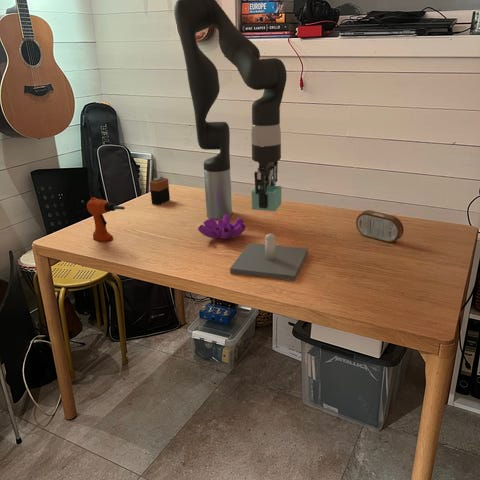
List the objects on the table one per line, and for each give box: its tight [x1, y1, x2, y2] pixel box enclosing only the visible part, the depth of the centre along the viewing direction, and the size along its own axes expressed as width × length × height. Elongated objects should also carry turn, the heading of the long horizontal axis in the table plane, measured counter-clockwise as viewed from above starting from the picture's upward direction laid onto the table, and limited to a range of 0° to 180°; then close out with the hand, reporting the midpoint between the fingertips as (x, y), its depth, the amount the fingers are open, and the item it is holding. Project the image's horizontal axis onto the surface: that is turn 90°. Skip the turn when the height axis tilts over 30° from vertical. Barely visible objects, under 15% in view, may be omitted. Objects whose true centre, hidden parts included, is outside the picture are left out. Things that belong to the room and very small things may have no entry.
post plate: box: [229, 233, 309, 282], centre depth 136 cm, size 18×18×9 cm
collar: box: [251, 185, 282, 212], centre depth 130 cm, size 6×6×5 cm
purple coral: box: [197, 215, 247, 240], centre depth 155 cm, size 11×15×10 cm
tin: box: [355, 209, 404, 244], centre depth 150 cm, size 15×3×8 cm, turn 47°
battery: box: [149, 175, 171, 206], centre depth 190 cm, size 4×7×10 cm, turn 152°
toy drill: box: [86, 197, 126, 243], centre depth 153 cm, size 5×18×14 cm, turn 53°
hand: (267, 203), depth 131 cm, fingers closed on collar, 6 cm apart
